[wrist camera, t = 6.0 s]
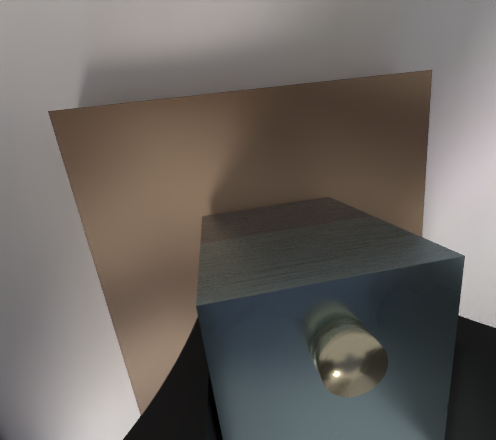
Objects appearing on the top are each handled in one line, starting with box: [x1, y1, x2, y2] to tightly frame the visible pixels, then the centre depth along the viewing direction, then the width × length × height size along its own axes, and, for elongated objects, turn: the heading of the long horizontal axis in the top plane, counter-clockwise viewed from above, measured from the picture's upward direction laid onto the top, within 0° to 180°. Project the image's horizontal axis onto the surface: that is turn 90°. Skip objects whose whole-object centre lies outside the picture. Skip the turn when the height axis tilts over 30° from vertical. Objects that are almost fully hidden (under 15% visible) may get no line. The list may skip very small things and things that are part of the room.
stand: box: [48, 70, 432, 415], centre depth 13 cm, size 16×14×2 cm
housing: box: [196, 197, 465, 440], centre depth 9 cm, size 5×8×7 cm, turn 7°
